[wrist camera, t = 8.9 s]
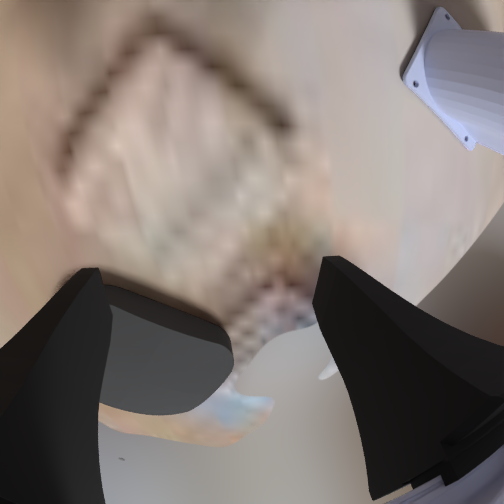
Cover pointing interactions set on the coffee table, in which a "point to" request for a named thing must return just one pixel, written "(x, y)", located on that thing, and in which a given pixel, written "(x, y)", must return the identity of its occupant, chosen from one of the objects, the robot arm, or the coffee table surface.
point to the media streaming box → (161, 357)
